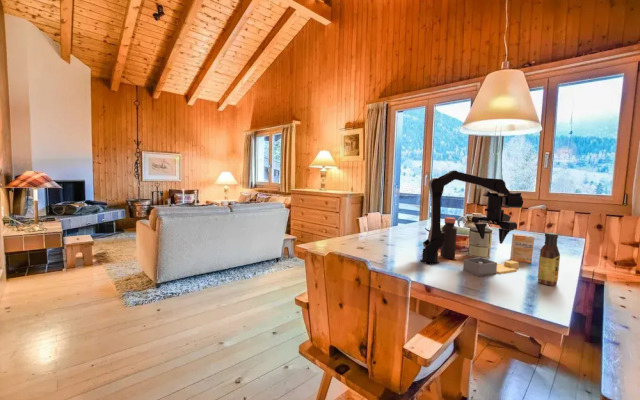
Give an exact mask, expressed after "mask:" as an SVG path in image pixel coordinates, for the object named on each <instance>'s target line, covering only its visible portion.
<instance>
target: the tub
mask: <svg viewBox="0 0 640 400" xmlns="http://www.w3.org/2000/svg"><path fill="white" fill-rule="evenodd" d="M497 264H498V262H496V261H494V260H489V259H484V258H481V257H480V258H474V257H471V258H464V259H463V267H462V270H463V272H466V273H468V274H471V275H474V276H477V277H478V278H479V277H487V276H494V275H497V273H496V271H497Z"/></svg>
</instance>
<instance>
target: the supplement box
mask: <svg viewBox="0 0 640 400" xmlns="http://www.w3.org/2000/svg"><path fill="white" fill-rule="evenodd" d="M534 242H535V236H533V235H532V234H522V233H521V234H519V233H512V238H511V247H510V257H509V259H510V261H511V260H513V261H516V262H519V263H529V264H532V263H533V262H532V261H533V256H534V244H535V243H534Z"/></svg>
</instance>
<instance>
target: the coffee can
mask: <svg viewBox="0 0 640 400" xmlns="http://www.w3.org/2000/svg"><path fill="white" fill-rule="evenodd" d="M492 235H493V230H492V229H490V228H487V227H485V235H484V239H481V236H480V234H479V232H478V230H477V228H476V226H475V227H474V226H473V227H469V237H468V250H467V256H469V257H471V258H480V257H481V258H484V259H487V260H489V259H490V258H491V250H492V249H491V247H492Z"/></svg>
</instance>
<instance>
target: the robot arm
mask: <svg viewBox="0 0 640 400" xmlns="http://www.w3.org/2000/svg"><path fill="white" fill-rule="evenodd" d="M455 180H456V181H460V182H464V183H468V184H472V185H476V186H479V187H482V188H483V189H486V190H487V191H486V192H485V193H483V194H482V196H483V197H485V198H486V197H487V203H486V205H487V206H486V208H484V211H485V212H486V216H482V215H477V216H476V215H474V216H472V217H471V221H470V222H471V223H473V225H474V226H475V227H476V228H477V230H478V232H479V234H480V236H481V239H484V235H485V228H487V225H488V224H490V225H493V226H499V228H498V238H499V239H498V242H499V244H501V245H502V244H503V243H504V241H505V239H506V237H507V235H508V234H509V233H510V232H511V231H514V230H518V224H517V222H516V221H511V218H512V216H511V215H509V214H507V213H505V210H504V209H503V206H504V207H505V208H509V209H511V208H512V209H514V208H515V209H520V208H522V207H523V205H524V199H523V196H522V192H510V191H509V189H508V187H507V185H506V181H505V180H503V179H501V178H489V177H488V178H487V177H483V176H482V177H481V176H477V175H473V174H469V173H465V172H461V171H457V170H450V171H449V172H447V173H445V174H443V175H441V176H439V177H433V178H431V179H430V180H429V181H428V188H429V194H430V197H431V199H430V200H431V204H430V206H431V207H430V208H431V209H430V220H431V221H430V229H429V230H428V231H429V232H428V237H427V239H426V240H424V241H423V242H422V244H423V247H424V248H422V257H421V259H419V261H420V262H422V263H424V264H427V265H430V266H431V265H436V264H437V265H438V264H440V262H439V259H438V258H439V249H441V246H442V245H443V242H445V241H444V236H445V233H444V232H443V231H442V228H441V208H442V196H443V193H444V189H445V186H448V184H450V183H452V182H453V181H455ZM490 191H491V192H490Z"/></svg>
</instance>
